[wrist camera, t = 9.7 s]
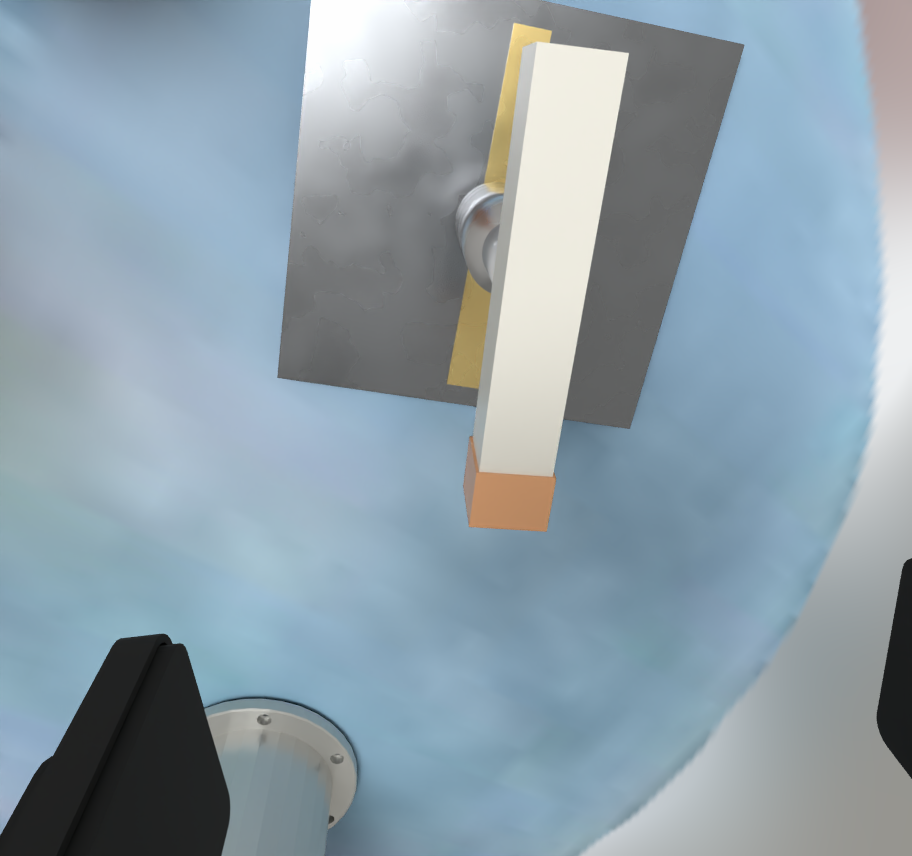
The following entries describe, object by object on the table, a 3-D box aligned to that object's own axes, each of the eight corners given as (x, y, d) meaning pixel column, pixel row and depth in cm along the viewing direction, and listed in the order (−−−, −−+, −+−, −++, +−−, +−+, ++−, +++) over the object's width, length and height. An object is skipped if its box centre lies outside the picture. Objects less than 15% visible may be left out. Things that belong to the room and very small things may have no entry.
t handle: (578, 62, 25) (634, 53, 19) (518, 444, 31) (546, 531, 25) (502, 53, 25) (533, 40, 19) (456, 440, 31) (469, 526, 25)
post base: (622, 417, 40) (669, 489, 33) (282, 367, 38) (252, 433, 30) (730, 46, 33) (822, 33, 26) (319, -43, 31) (292, -85, 23)
